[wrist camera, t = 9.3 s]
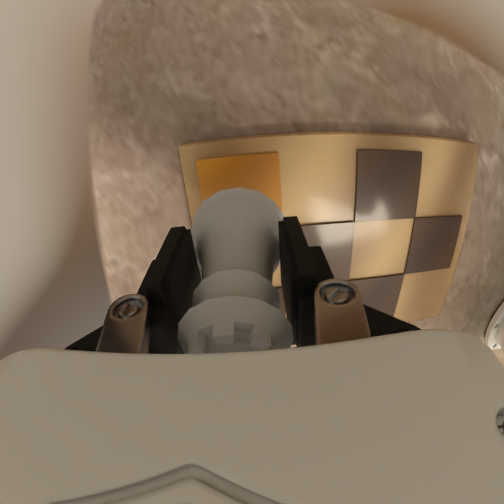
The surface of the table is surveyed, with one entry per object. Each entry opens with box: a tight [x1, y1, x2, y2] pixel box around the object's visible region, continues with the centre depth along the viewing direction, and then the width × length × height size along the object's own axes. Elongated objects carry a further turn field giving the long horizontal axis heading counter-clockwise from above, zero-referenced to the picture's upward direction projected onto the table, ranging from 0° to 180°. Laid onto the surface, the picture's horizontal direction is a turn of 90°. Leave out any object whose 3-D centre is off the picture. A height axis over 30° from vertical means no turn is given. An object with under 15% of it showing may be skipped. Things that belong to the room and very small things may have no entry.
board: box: [179, 132, 479, 322], centre depth 21 cm, size 22×17×1 cm
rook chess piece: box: [177, 187, 293, 354], centre depth 11 cm, size 4×4×8 cm
